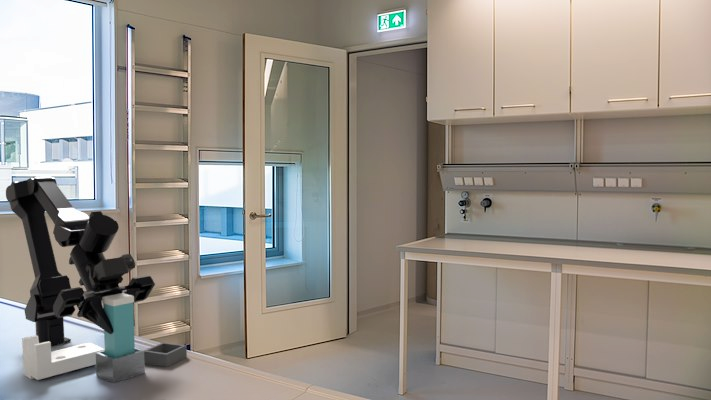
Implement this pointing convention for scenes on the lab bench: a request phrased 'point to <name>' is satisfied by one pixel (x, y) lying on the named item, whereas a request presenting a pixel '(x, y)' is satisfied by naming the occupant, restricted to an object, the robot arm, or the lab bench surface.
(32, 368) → the bracket
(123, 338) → the plug
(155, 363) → the frame
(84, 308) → the robot arm
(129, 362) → the box
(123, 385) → the lab bench surface
